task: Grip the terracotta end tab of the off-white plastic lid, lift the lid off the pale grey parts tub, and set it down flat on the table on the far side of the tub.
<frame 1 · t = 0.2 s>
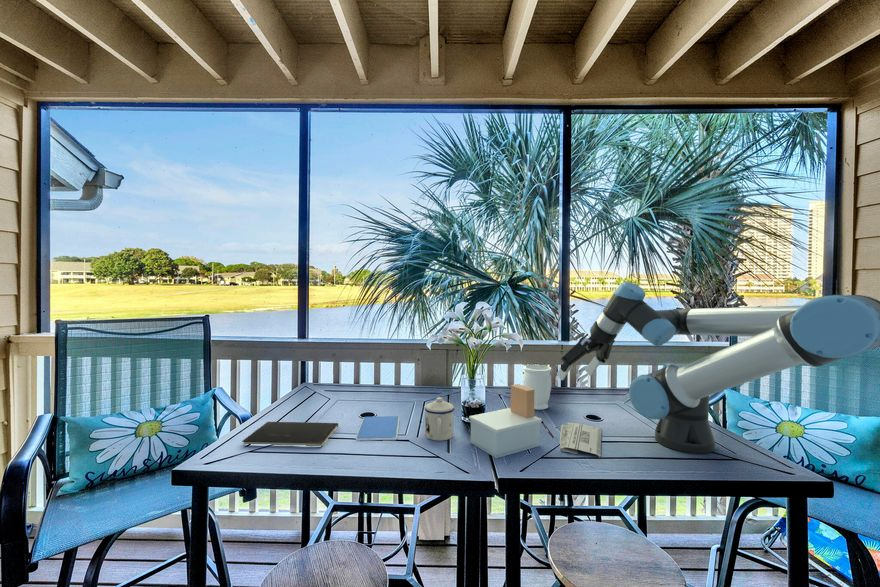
hand: (574, 375, 136), 16 cm above the table, fingers open, 13 cm apart
newspaper: (579, 443, 120), on the table
teacup with lid: (439, 438, 122), on the table
parts tub: (505, 444, 118), on the table
lid: (505, 420, 117), point 7 cm above the table, touching parts tub
hardcover book: (293, 439, 123), on the table
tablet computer: (378, 430, 130), on the table
jar: (536, 407, 152), on the table
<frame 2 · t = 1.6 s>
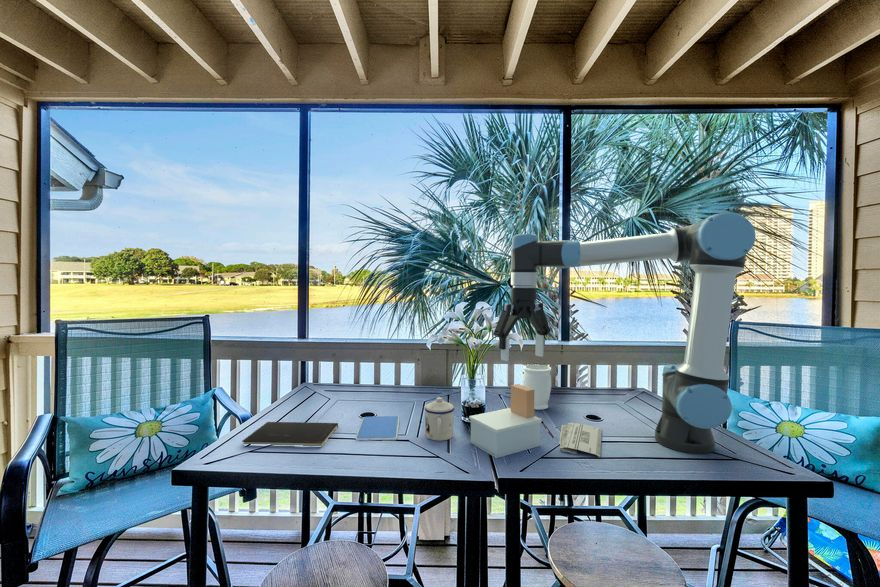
hand: (522, 358, 120), 24 cm above the table, fingers open, 13 cm apart
nothing on the table moved.
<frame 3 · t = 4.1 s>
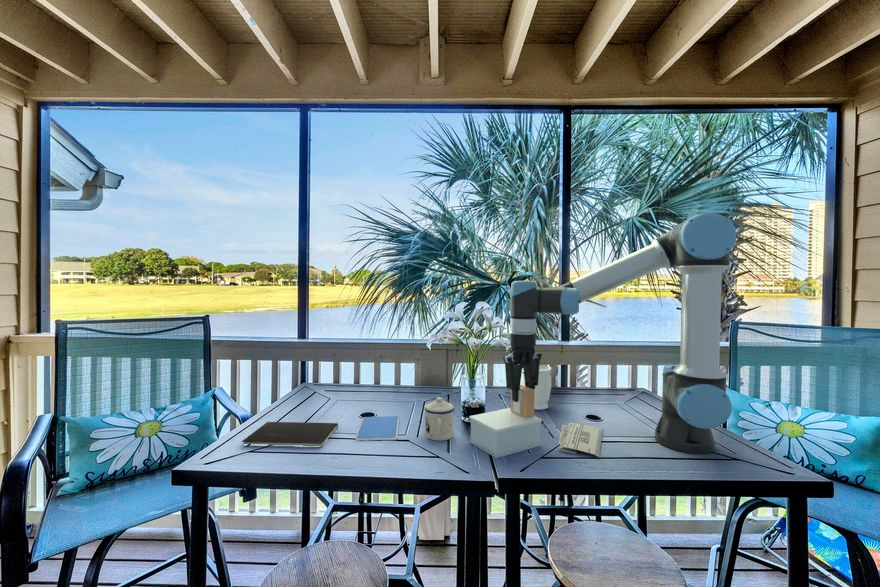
hand: (522, 410, 121), 9 cm above the table, fingers closed on lid, 3 cm apart
lid: (505, 420, 117), point 7 cm above the table, touching gripper, parts tub
everything else where it was.
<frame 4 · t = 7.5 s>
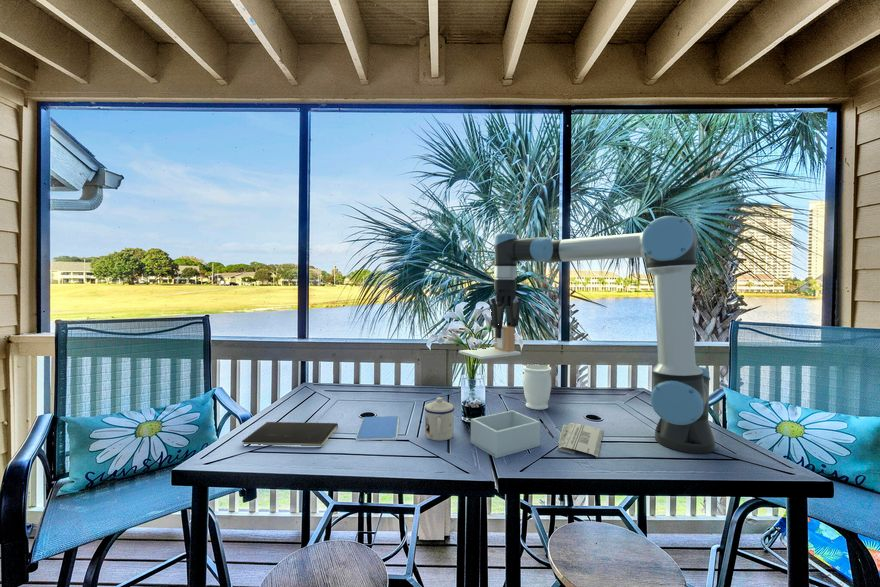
hand: (504, 346, 139), 25 cm above the table, fingers closed on lid, 3 cm apart
lid: (489, 353, 136), point 23 cm above the table, touching gripper
everything else where it was.
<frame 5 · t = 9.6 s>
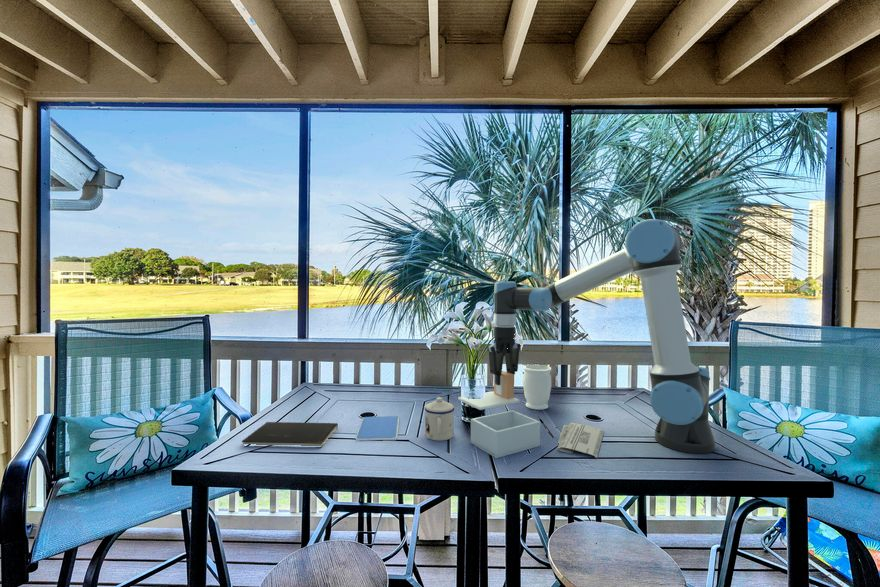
hand: (503, 393, 140), 9 cm above the table, fingers closed on lid, 3 cm apart
lid: (488, 400, 137), point 7 cm above the table, touching gripper
everything else where it was.
when the fingers open (3 cm above the table, at t = 11.2 s): lid drops 2 cm, on the table.
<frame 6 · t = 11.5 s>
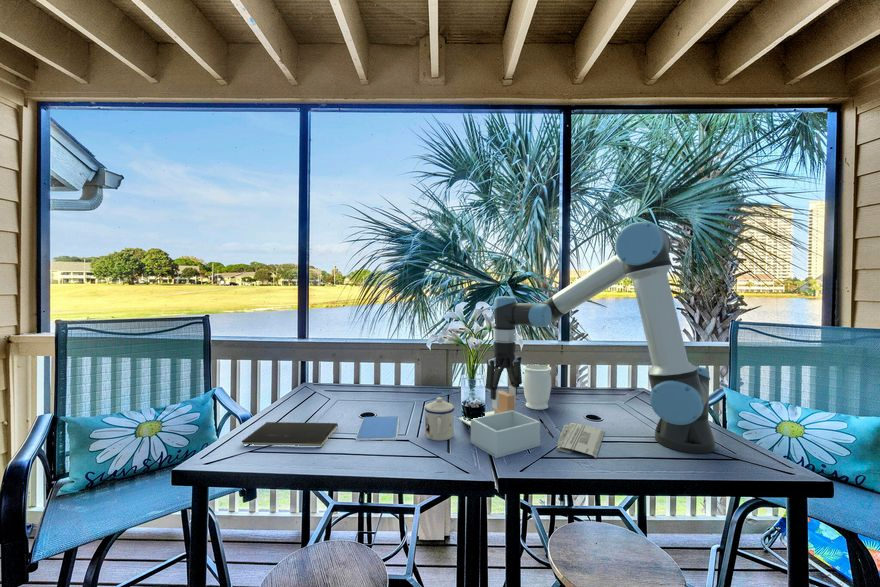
hand: (503, 406, 140), 4 cm above the table, fingers open, 7 cm apart
lid: (489, 421, 137), on the table
everything else where it was.
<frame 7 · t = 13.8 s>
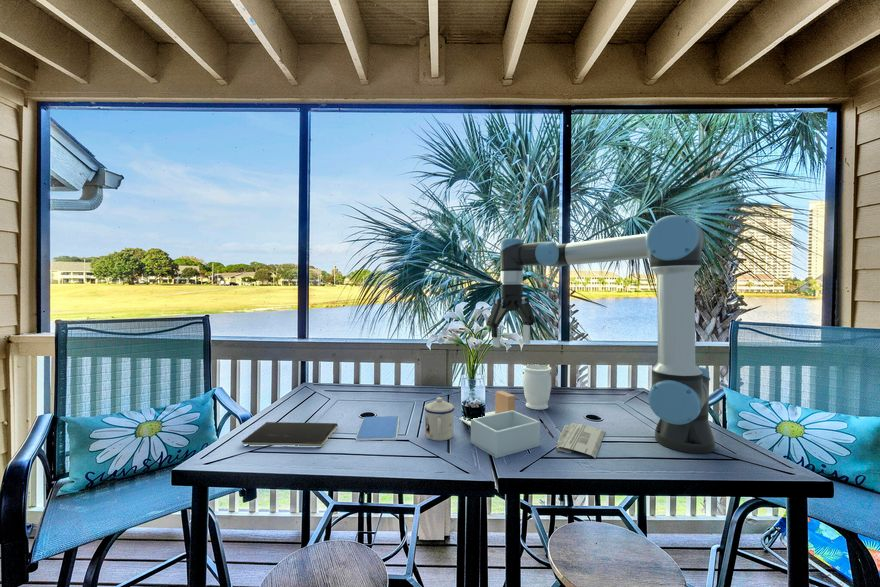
hand: (511, 345, 139), 25 cm above the table, fingers open, 13 cm apart
nothing on the table moved.
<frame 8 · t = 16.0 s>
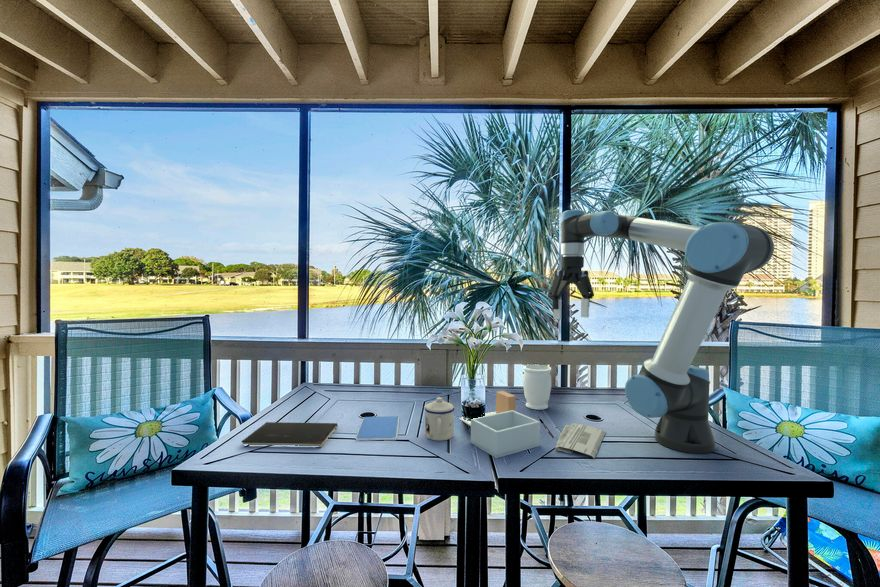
hand: (571, 318, 139), 35 cm above the table, fingers open, 13 cm apart
nothing on the table moved.
at the end: lid inside the target area (0.5 cm from its centre), on the table; lid tilted 0°; the gripper is holding nothing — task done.
